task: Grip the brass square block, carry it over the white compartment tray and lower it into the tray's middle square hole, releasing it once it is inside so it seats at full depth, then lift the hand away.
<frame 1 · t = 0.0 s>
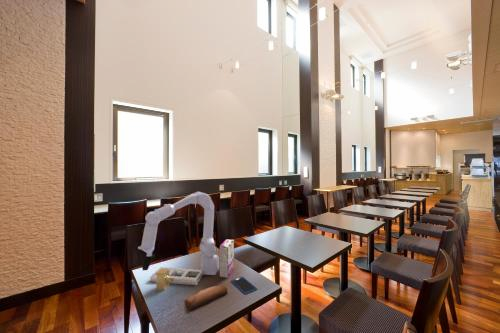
hand: (143, 266, 100), 11 cm above the table, tool pointing down, fingers open, 7 cm apart
brown rounded bar: (205, 299, 94), on the table
candy bar box: (226, 273, 116), on the table
brass block: (163, 287, 102), on the table
cell phone: (243, 286, 104), on the table
white compartment tray: (177, 278, 110), on the table
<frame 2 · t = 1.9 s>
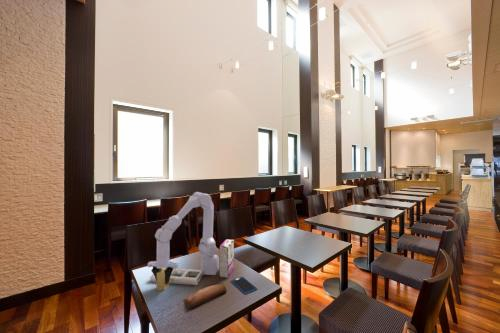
hand: (163, 282, 102), 2 cm above the table, tool pointing down, fingers closed on brass block, 4 cm apart
brass block: (162, 287, 102), on the table, touching gripper
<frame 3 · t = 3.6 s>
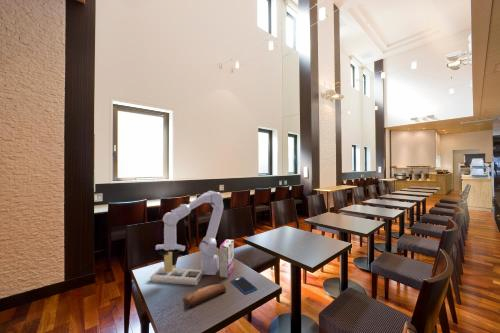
hand: (170, 264, 106), 9 cm above the table, tool pointing down, fingers closed on brass block, 4 cm apart
brass block: (170, 269, 106), point 7 cm above the table, touching gripper
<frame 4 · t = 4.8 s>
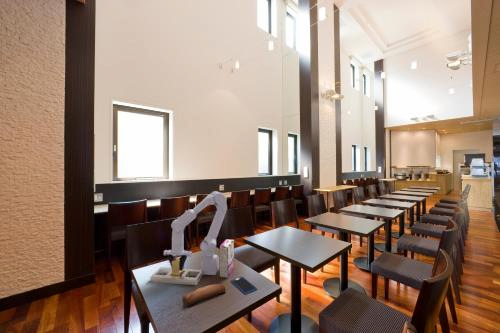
hand: (177, 269, 110), 5 cm above the table, tool pointing down, fingers closed on brass block, 4 cm apart
brass block: (177, 274, 110), point 2 cm above the table, touching gripper
when the fingers open (4 cm above the table, at t = 5.4 s): brass block drops 1 cm, resting in white compartment tray.
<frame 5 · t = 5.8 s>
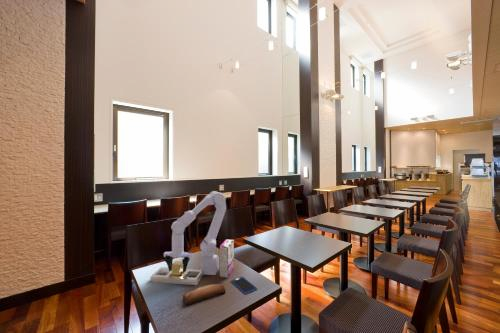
hand: (177, 270, 110), 4 cm above the table, tool pointing down, fingers open, 7 cm apart
brass block: (177, 278, 110), resting in white compartment tray
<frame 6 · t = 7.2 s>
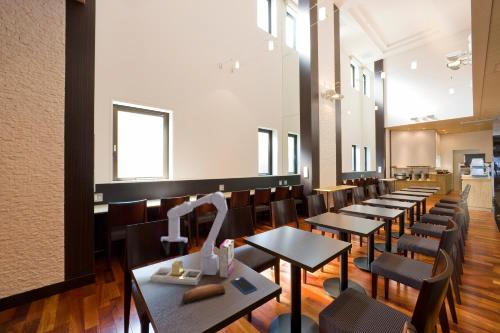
hand: (174, 254, 117), 9 cm above the table, tool pointing down, fingers open, 7 cm apart
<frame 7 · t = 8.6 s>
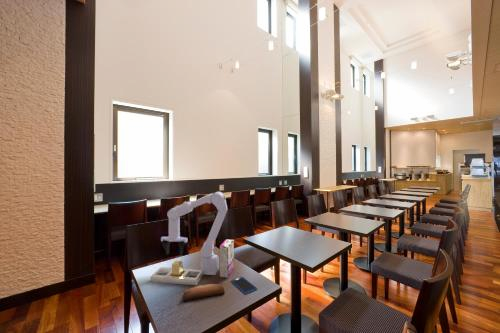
hand: (174, 254, 117), 9 cm above the table, tool pointing down, fingers open, 7 cm apart
at the end: brass block 0.3 cm off-centre on the white compartment tray, point 0.0 cm above the white compartment tray's base; brass block tilted 0°; the gripper is holding nothing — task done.
